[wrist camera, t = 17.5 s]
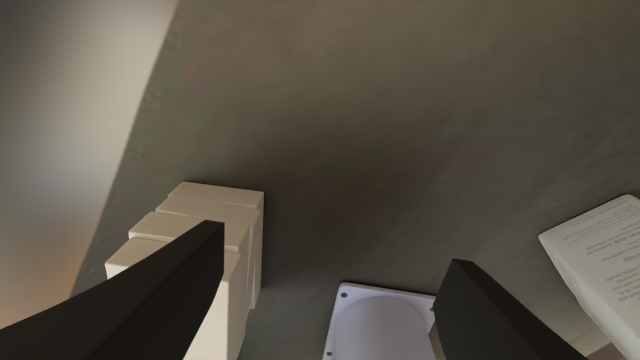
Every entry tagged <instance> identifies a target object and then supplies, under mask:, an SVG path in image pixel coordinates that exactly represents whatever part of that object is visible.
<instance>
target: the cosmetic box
mask: <svg viewBox="0 0 640 360" xmlns="http://www.w3.org/2000/svg"><path fill="white" fill-rule="evenodd" d="M538 238H539V240H540V242H541V244H542V246H543V247H544V249H545V251H546V252H547V254H548V255H549V257H550V259H551V260H552V262H553V264H554V265H555V267H556V269H557V270H558V272H559V273H560V275H561V277H562V278H563V280H564V281H565V283H566V285H567V286H568V288H569V289H570V290H571V292H572V293H573V294H574V295H575V297H576V299H577V301H578V303H579V305H580V306H581V307H582V309H583V310H584V311H585V312H586V313H587V314H588V316H589V317H590V318H591V319H592V320H593V321H594V322H595V323H596V325H597V326H598V327H599V328H600V329H601V330H602V332H603V333H604V334H605V335H606V336H607V337H608V338H609V339H610V341H611V342H612V343H613V344H614V345H615V346H616V348H617V349H618V350H619V351H620V352H621V353H622V354H623V356H624V357H625V358H626V359H627V360H640V199H638V198H636V197H634V196H632V195H630V194H627V195H622V196H620V197H618V198H616V199H614V200H611V201H609V202H607V203H605V204H603V205H601V206H599V207H596V208H594V209H592V210H590V211H588V212H586V213H584V214H582V215H579V216H577V217H575V218H573V219H571V220H569V221H566V222H564V223H562V224H560V225H558V226H556V227H554V228H552V229H550V230H547V231H545V232H543V233H541V234H539V236H538Z"/></svg>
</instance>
